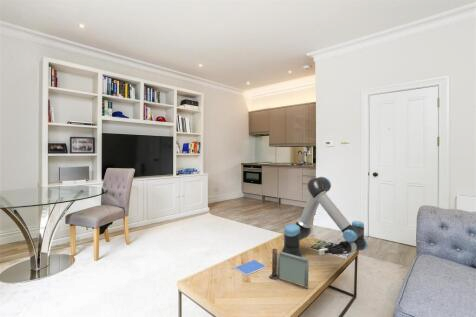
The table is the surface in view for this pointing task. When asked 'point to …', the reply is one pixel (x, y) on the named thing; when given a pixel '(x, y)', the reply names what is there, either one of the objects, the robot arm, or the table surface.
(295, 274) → the panel
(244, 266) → the tablet computer
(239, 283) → the table surface
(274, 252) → the hinge post
